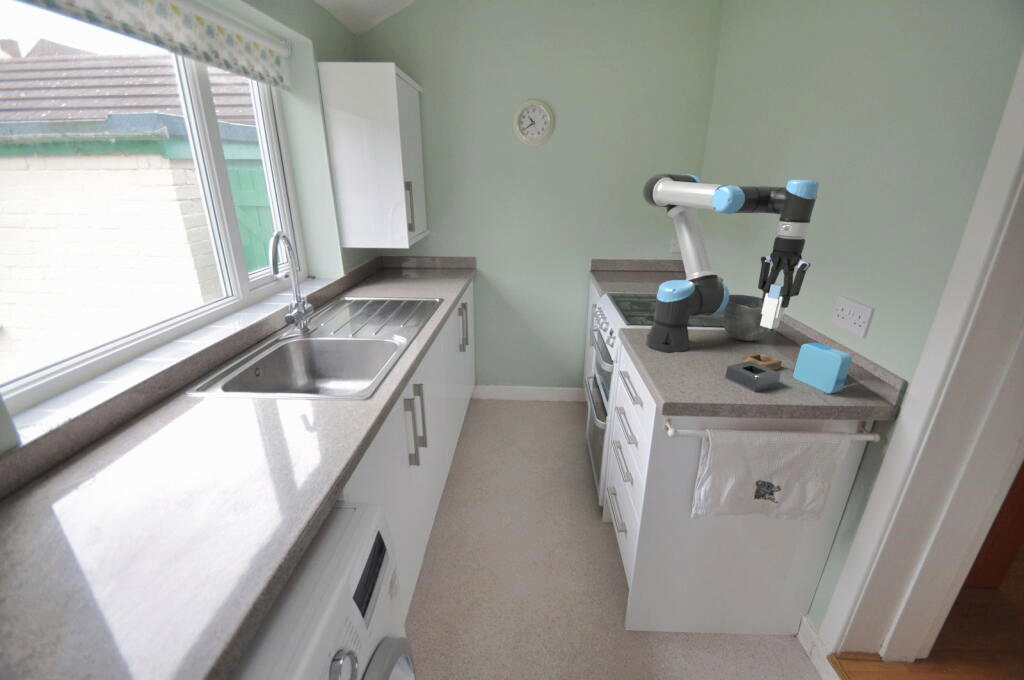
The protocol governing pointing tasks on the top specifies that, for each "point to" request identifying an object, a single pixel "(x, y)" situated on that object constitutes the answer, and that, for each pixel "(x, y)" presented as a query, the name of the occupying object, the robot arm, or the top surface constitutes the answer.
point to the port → (752, 376)
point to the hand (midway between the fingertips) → (771, 315)
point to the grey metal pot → (744, 318)
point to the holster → (763, 360)
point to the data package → (822, 367)
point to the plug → (772, 307)
